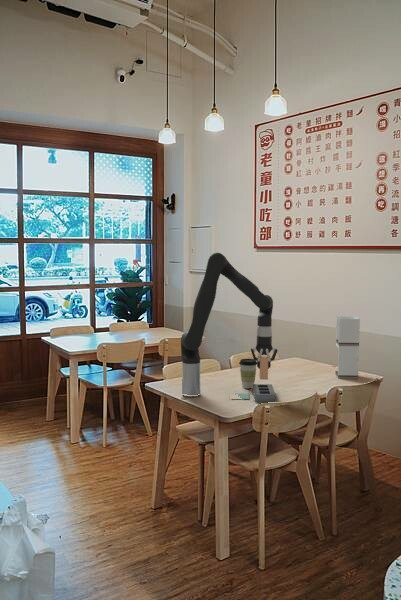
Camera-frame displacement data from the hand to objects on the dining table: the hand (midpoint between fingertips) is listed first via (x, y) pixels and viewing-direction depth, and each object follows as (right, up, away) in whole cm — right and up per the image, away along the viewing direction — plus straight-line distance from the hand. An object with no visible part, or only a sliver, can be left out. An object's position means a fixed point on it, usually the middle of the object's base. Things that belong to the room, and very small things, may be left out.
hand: (263, 368), depth 270 cm
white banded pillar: (+54, -11, +43) cm, 70 cm away
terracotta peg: (0, -5, +1) cm, 5 cm away
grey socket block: (0, -15, +2) cm, 15 cm away
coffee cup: (-6, -13, +21) cm, 25 cm away
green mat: (-12, -15, +2) cm, 19 cm away
